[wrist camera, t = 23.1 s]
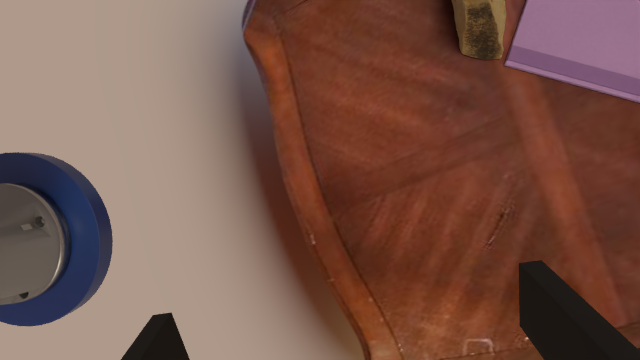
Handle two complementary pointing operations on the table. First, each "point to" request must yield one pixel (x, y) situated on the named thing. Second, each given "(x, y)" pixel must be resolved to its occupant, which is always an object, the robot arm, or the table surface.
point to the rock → (480, 27)
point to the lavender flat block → (581, 44)
